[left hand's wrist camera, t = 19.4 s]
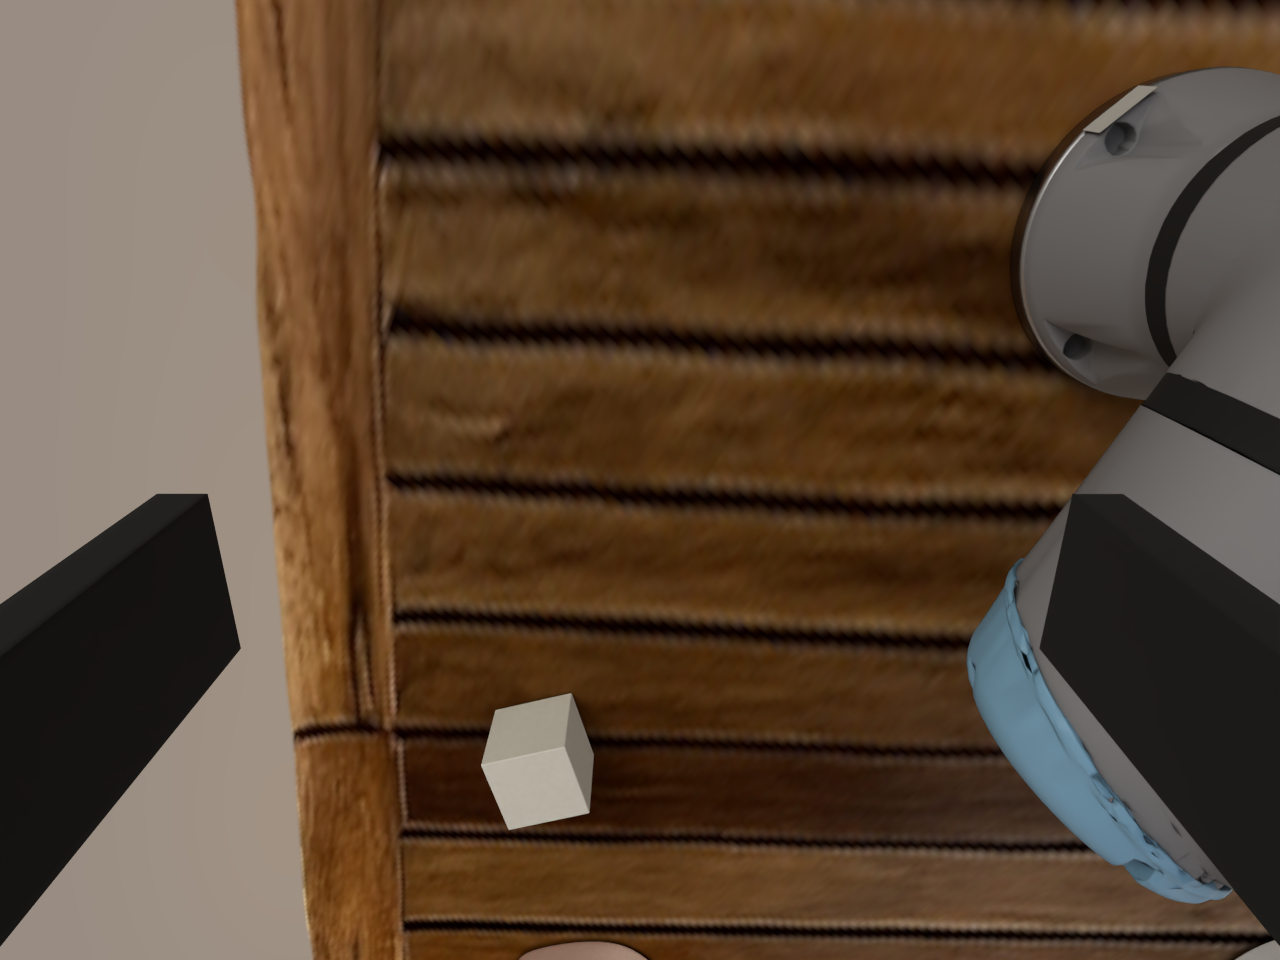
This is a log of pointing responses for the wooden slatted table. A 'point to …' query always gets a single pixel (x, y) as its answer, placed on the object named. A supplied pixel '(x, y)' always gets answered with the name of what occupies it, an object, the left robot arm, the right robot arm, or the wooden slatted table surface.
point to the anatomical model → (584, 952)
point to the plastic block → (539, 762)
